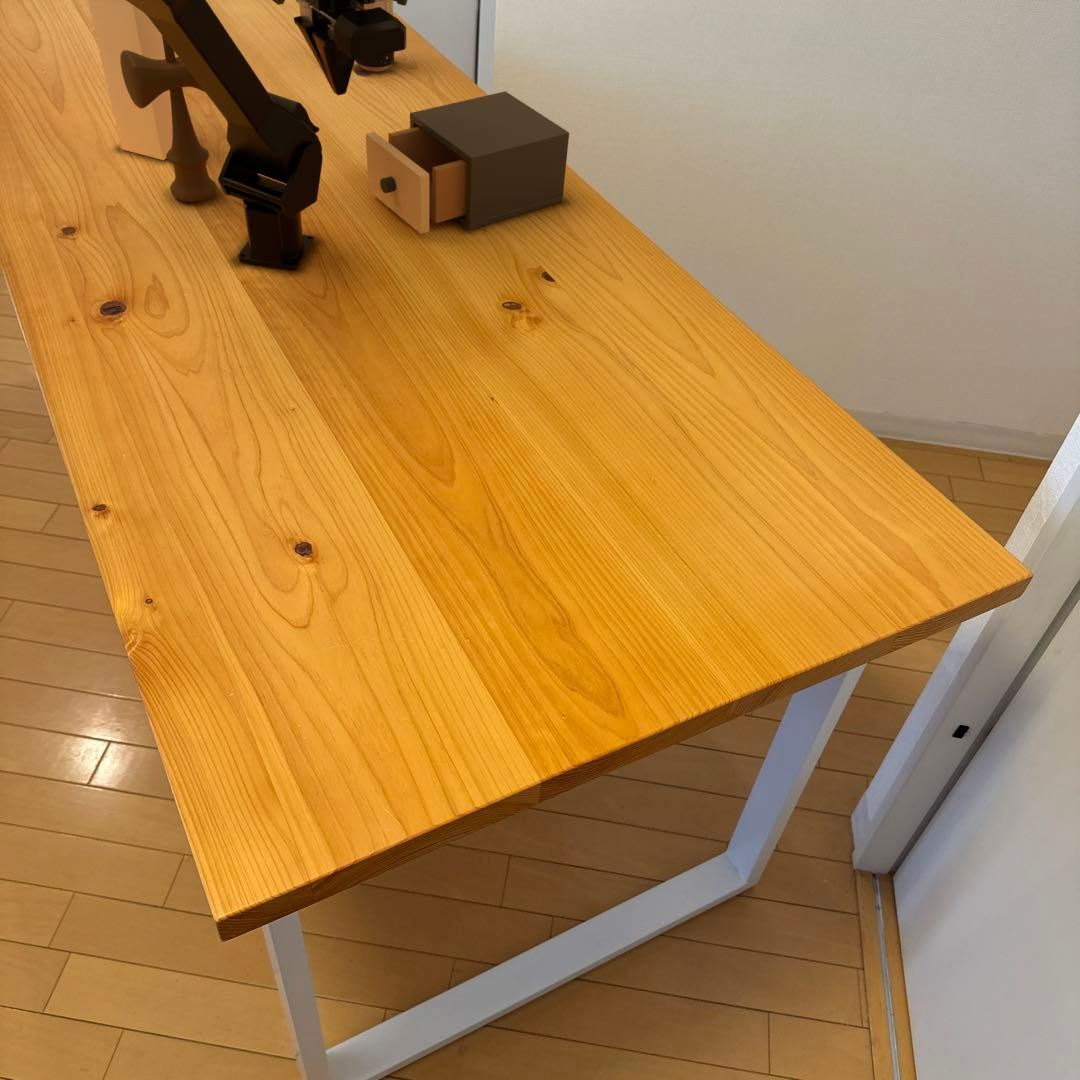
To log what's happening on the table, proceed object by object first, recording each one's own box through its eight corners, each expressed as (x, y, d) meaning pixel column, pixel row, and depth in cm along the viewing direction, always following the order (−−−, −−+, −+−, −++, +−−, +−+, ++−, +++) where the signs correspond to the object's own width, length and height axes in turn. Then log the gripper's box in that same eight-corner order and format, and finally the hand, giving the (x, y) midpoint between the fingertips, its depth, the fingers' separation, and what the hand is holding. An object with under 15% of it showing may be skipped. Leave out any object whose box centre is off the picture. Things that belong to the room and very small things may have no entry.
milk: (163, 161, 121) (123, -42, 105) (120, 149, 122) (74, -53, 106) (192, 141, 125) (158, -57, 109) (150, 130, 126) (110, -68, 110)
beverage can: (397, 60, 147) (395, -30, 138) (389, 75, 143) (387, -16, 134) (359, 55, 147) (355, -35, 138) (350, 70, 143) (345, -22, 134)
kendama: (245, 197, 116) (219, 13, 102) (162, 215, 112) (123, 25, 98) (225, 175, 119) (197, -7, 105) (144, 191, 115) (103, 4, 101)
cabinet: (469, 230, 115) (471, 158, 109) (410, 183, 122) (409, 112, 116) (562, 202, 121) (569, 132, 115) (501, 159, 128) (505, 91, 122)
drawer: (411, 237, 111) (410, 178, 107) (359, 192, 117) (356, 135, 112) (511, 207, 118) (514, 151, 113) (456, 167, 124) (458, 112, 119)
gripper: (452, -52, 95) (451, 112, 106) (352, -108, 105) (361, 48, 116) (348, -35, 90) (359, 135, 101) (253, -95, 100) (272, 66, 111)
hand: (339, 93), depth 108 cm, fingers closed
